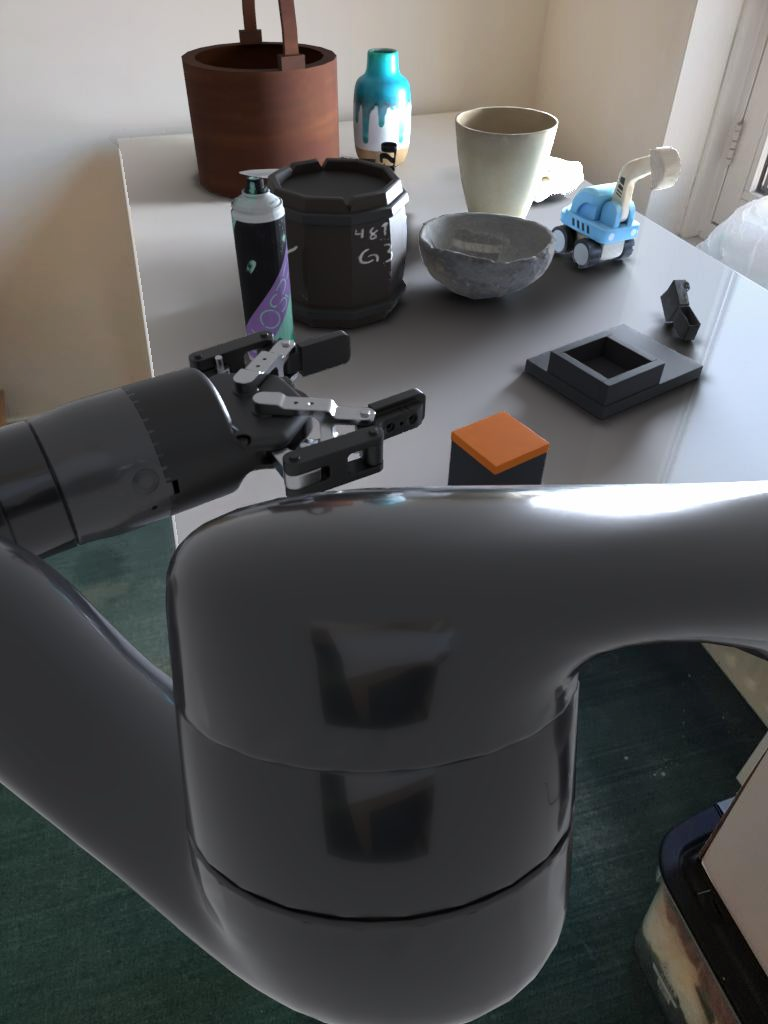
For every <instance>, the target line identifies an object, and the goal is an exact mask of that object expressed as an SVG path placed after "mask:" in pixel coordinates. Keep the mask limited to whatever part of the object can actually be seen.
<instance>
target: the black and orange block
mask: <svg viewBox="0 0 768 1024" xmlns="http://www.w3.org/2000/svg"><path fill="white" fill-rule="evenodd" d="M450 440H451V442H450V454H449V465H448V478H447V486H453V485H542V481H543V475H544V471H545V465H546V461H547V455H548V452H549V450H550V445H551V444H550V443H549V442H548V441H547V440H546V439H544V438H543V437H541V436H540V435H538V434H537V433H536V432H534V431H533V430H532V429H530V428H529V427H527V426H526V425H524V424H523V423H522V422H521V421H519V420H518V419H517V418H515V417H514V416H512V415H510V414H509V413H508V412H506V411H505V410H502V411H499V412H496V413H495V414H492V415H490V416H487V417H485V418H482V419H480V420H477V421H474V422H471V423H469V424H466V425H464V426H462V427H458V428H457V429H454V430H451V434H450Z"/></svg>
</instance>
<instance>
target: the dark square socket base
mask: <svg viewBox="0 0 768 1024" xmlns="http://www.w3.org/2000/svg"><path fill="white" fill-rule="evenodd" d="M703 369H704V365H703V364H702V363H701V364H700V363H699V362H697V361H695V360H694V359H692V358H690V357H688V356H687V355H684V354H682V353H680V352H678V351H676V350H674V349H673V348H670V347H669V346H667V345H665V344H663V343H661V342H659V341H657V340H655V339H654V338H651V337H650V336H648V335H646V334H644V333H642V332H640V331H638V330H637V329H635V328H632V327H631V326H629V325H627V324H625V323H621V324H619V325H617V326H614V327H611V328H608V329H605V330H603V331H600V332H596V333H595V334H592V335H589V336H587V337H584V338H581V339H579V340H575V341H573V342H570V343H567V344H564V345H562V346H558V347H557V348H554V349H551V350H548V351H545V352H542V353H540V354H537V355H535V356H531V357H529V358H526V360H525V367H524V371H525V372H527V373H528V374H530V375H531V376H532V377H534V378H536V379H537V380H539V381H540V382H542V383H544V384H545V385H547V386H548V387H550V388H551V389H553V390H554V391H556V392H557V393H559V394H561V395H562V396H563V397H565V398H567V399H568V400H569V401H571V402H573V403H574V404H576V405H577V406H578V407H580V408H582V409H583V410H585V411H587V412H588V413H590V414H591V415H593V416H594V417H595V418H597V419H599V420H601V421H603V420H605V419H607V418H609V417H611V416H614V415H616V414H618V413H620V412H622V411H625V410H626V409H629V408H632V407H634V406H636V405H638V404H641V403H644V402H645V401H648V400H650V399H652V398H655V397H657V396H660V395H661V394H664V393H667V392H669V391H671V390H673V389H675V388H678V387H680V386H682V385H684V384H687V383H690V382H691V381H693V380H696V379H699V378H700V377H701V375H702V371H703Z"/></svg>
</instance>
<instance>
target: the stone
mask: <svg viewBox="0 0 768 1024" xmlns="http://www.w3.org/2000/svg"><path fill="white" fill-rule="evenodd" d="M584 180H585V175H584V173H583V165H582V164H581V162H579V161H570V160H565V159H562V158H560V157H556V156H555V157H554V156H552V155H549V158H548V161H547V164H546V167H545V170H544V173H543V176H542V179H541V182H540V184H539V187H538V189H537V192H536V194H535V197H534V199H533V201H532V202H536V203H540V202H543V201H544V200H545V199H547V198H548V197H551V196H555V195H556V194H557V195H559V194H562V195H567V194H566V193H569V192H570V193H572V192H574V191H575V190H576V189H577V188H578V187H579V185H580V184H581V183H582V182H583V183H584ZM574 189H575V190H574ZM573 190H574V191H573ZM571 191H572V192H571ZM570 193H569V194H570ZM552 194H554V195H552ZM550 195H551V196H550Z"/></svg>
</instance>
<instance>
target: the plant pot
mask: <svg viewBox="0 0 768 1024" xmlns="http://www.w3.org/2000/svg"><path fill="white" fill-rule="evenodd" d="M454 120H455V121H454V123H455V125H454V126H455V138H456V150H457V160H458V167H459V175H460V180H461V186H462V191H463V195H464V200H465V204H466V208H467V212H478V213H495V214H505V215H510V216H515V217H519V218H523V219H526V216H527V215H528V212H529V210H530V208H531V206H532V204H533V202H534V201H533V199H534V197H535V194H536V192H537V189H538V187H539V184H540V182H541V179H542V176H543V173H544V170H545V167H546V164H547V161H548V158H549V156H551V151H552V148H553V145H554V140H555V137H556V133H557V129H558V125H559V120H558V118H557V117H556V116H554V115H552V114H551V113H548V112H545V111H543V110H542V111H541V110H539V109H534V108H526V107H519V106H484V107H476V108H470V109H467V110H464V111H461V112H460V113H458V114H457V115H456V116H455V119H454Z"/></svg>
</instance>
